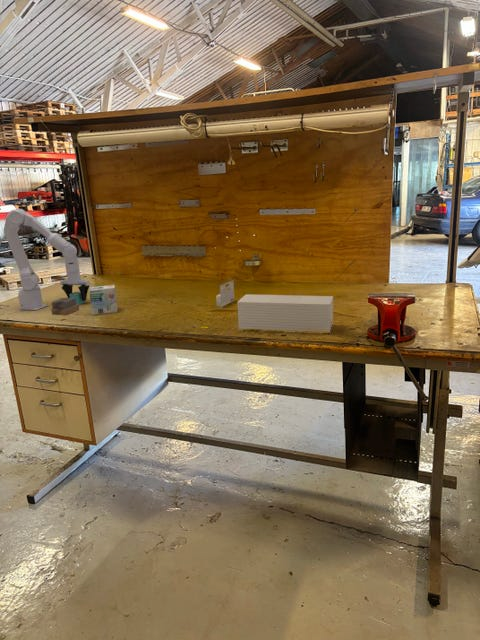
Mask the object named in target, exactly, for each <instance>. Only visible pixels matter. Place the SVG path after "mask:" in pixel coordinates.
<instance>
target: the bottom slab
mask: <svg viewBox="0 0 480 640" xmlns="http://www.w3.org/2000/svg"><path fill="white" fill-rule="evenodd" d="M79 307H80V306H79V305H78V304H76V305H74V306H72V307H70V308H68V309H53V308H50V310H51V315H54V316H55V315H57V316H58V315H60V316H69V315H71V314H73V313H75V312H77V311H80V308H79Z"/></svg>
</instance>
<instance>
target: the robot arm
mask: <svg viewBox="0 0 480 640" xmlns="http://www.w3.org/2000/svg"><path fill="white" fill-rule="evenodd" d="M4 221H5V222H4V227H3V233H4V236H5V238H6V241H7V242H8V246H9V248H10V251H11V253H12V256H13V258H14V260H15V264H16V265H17V268H18V271H19V278H20V285H21V288H22V289H20V290H19V292H18V293H17V295H18V302H19V306H20V307H19V308H18V310H23V311H37V310H40V309H42V308H45V307H47V306H49V305H48V304H44V302H43V301H44V300H43V296H42V290H41V287H40V286H39V282H40V277H39V276H38V274H36V272H35V271H34V269H33V268H32V266H31V264H30V262H29V261H30V260H29V259H28V256H27V254H26V252H25V249H24V248H25V247H24V246H23V244H22V241H21V238H20V236H19V234H18V231H19V230H20V229H21V226H22V225H23V226H27V227H31V228H33V229H34V230H35V231H37V232H38V233H40V235H42V236H43V237H45V238H46V239H47V243H48V244H49V245H51V247H52V248H54V249H56V250H57V251H58V252H59V253H61V254H62V257H64V265H65V271H66V277H67V279H66V280H65V279H64V280H60V282H59V283H60V286H61V289H62V290H63V292H64V293H65V294H66V298H70V296H69V294H71V293H73V288H74V287H73V286H78V287H77V288H78V290H79V292H80V293H81V297H82V301H85V302H86V301H87V297H88V293H89V289H90V285H91V284H90V280H83V279H82V277H81V271H80V265H79V264H80V263H79V260H78V256H77V253H78V249H77V248H76V246H75V245H74V244H72V243H71V242H70V241H67V240H66V239H65V238H63V237H62V236H63V235H62V234H61V233H58V232H51V230H49V229H48V228H47V227H46V226H45V225H43V223H41V221H39V220H38V219H37V218H36V217H34V216H33V215H32V214H30V213H29V212H26V210H24V209H23V208H16V209H12V210H10V211H9V212H8V213H7V215H6V216H5V220H4Z"/></svg>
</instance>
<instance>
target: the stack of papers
mask: <svg viewBox="0 0 480 640" xmlns="http://www.w3.org/2000/svg"><path fill="white" fill-rule="evenodd" d="M237 320H238V330H239V329H262V330H287V331H289V330H290V331H291V330H292V331H328V332H330V330H331V331H332V329H331V327H332V328H333V326H332V324H333V325H334V296H333V295H330V296H329V295H293V294H291V295H290V294H287V295H286V294H285V295H284V294H282V295H280V294H251V293H250V294H247V293H246V294H245V295H243V296H242V297H241V298H240V299H239V300H238V301H237ZM330 333H331V332H330Z"/></svg>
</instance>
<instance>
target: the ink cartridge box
mask: <svg viewBox="0 0 480 640" xmlns="http://www.w3.org/2000/svg"><path fill="white" fill-rule="evenodd" d="M234 283H235V281H234V279H232V280H230V281H228V282H225V283H222V284H220V285H219V294H217V295H216V296H215V298H216V307H217V308H223V307H226V306H228V305H229V303H230V304H232V303H234V302H235V300H236V299H235V290H234V289H235V288H234V287H235V286H234ZM233 301H234V302H233ZM231 302H232V303H231ZM227 304H228V305H227ZM222 306H223V307H222Z"/></svg>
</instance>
